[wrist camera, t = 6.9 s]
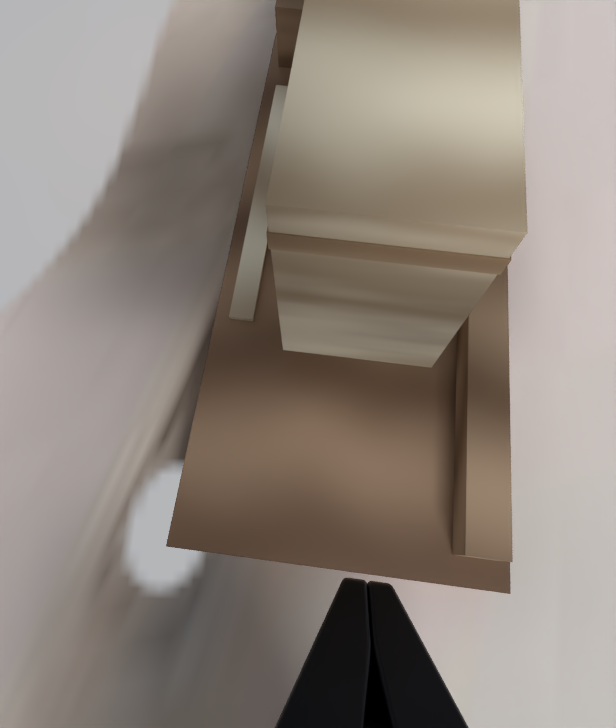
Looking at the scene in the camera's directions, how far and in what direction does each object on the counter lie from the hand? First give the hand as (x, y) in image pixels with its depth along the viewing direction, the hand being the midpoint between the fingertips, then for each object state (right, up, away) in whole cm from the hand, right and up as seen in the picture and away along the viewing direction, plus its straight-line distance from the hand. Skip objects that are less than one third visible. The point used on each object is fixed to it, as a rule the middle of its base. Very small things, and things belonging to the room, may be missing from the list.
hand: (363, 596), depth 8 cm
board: (+2, +8, +15) cm, 17 cm away
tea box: (+2, +10, +13) cm, 17 cm away
